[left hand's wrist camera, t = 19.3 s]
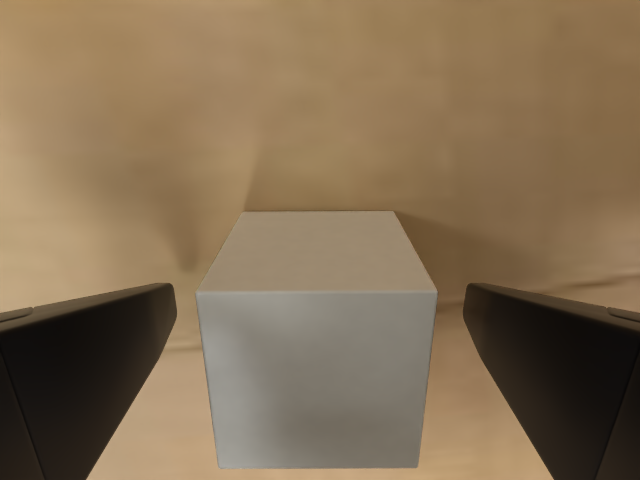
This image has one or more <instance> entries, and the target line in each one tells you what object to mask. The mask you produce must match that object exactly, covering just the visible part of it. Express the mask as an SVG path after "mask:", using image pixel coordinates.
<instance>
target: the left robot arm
mask: <svg viewBox="0 0 640 480" xmlns="http://www.w3.org/2000/svg"><path fill="white" fill-rule="evenodd" d="M176 317H177V308H176V301H175V294H174V288H173V286H172V284H170V283H155V284H150V285H144V286H139V287H134V288H129V289H124V290H119V291H114V292H109V293H104V294H99V295H93V296H88V297H83V298H78V299H73V300H68V301H63V302H58V303H53V304H47V305H42V306H37V307H34V309H33V308H32V307H29V308H24V309H19V310H14V311H8V312H3V313H0V480H86V479H87V477H88V475H89V474H90V472H91V470H92V469H93V467H94V465H95V464H96V462H97V461H98V459H99V457H100V456H101V454H102V452H103V451H104V449H105V447H106V446H107V444H108V442H109V441H110V439H111V437H112V436H113V434H114V432H115V431H116V429H117V427H118V426H119V424H120V422H121V421H122V419H123V417H124V416H125V414H126V412H127V411H128V409H129V407H130V406H131V404H132V403H133V401H134V399H135V398H136V396H137V394H138V393H139V391H140V389H141V388H142V386H143V384H144V383H145V381H146V379H147V378H148V376H149V374H150V373H151V371H152V369H153V368H154V366H155V364H156V363H157V361H158V359H159V357H160V355H161V353H162V351H163V349H164V346H165V344H166V342H167V339H168V337H169V335H170V333H171V330H172V328H173V326H174V323H175V321H176ZM463 317H464V321H465V323H466V326H467V328H468V330H469V333H470V335H471V337H472V340H473V342H474V344H475V347H476V349H477V351H478V353H479V355H480V357H481V359H482V361H483V363H484V364H485V366H486V368H487V369H488V371H489V373H490V374H491V376H492V378H493V379H494V381H495V383H496V384H497V386H498V388H499V389H500V391H501V393H502V394H503V396H504V398H505V399H506V401H507V403H508V404H509V406H510V408H511V409H512V411H513V413H514V414H515V416H516V417H517V419H518V421H519V422H520V424H521V426H522V427H523V429H524V431H525V432H526V434H527V436H528V437H529V439H530V441H531V442H532V444H533V446H534V447H535V449H536V451H537V452H538V454H539V456H540V457H541V459H542V461H543V462H544V464H545V466H546V467H547V469H548V471H549V472H550V474H551V476H552V477H553V479H554V480H640V313H637V312H632V311H626V310H621V309H616V308H611V307H608V308H607V309H606V307H603V306H598V305H593V304H588V303H583V302H577V301H572V300H567V299H562V298H557V297H552V296H547V295H542V294H536V293H531V292H526V291H521V290H516V289H511V288H506V287H501V286H495V285H490V284H485V283H470V284H468V286H467V288H466V294H465V301H464V307H463Z"/></svg>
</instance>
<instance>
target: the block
mask: <svg viewBox="0 0 640 480" xmlns="http://www.w3.org/2000/svg"><path fill="white" fill-rule="evenodd" d="M195 295H196V303H197V310H198V318H199V325H200V333H201V340H202V348H203V355H204V363H205V371H206V378H207V386H208V393H209V401H210V408H211V416H212V423H213V431H214V438H215V446H216V453H217V461H218V467H219V468H220V469H320V468H417V467H418V463H419V454H420V445H421V437H422V428H423V419H424V411H425V402H426V393H427V384H428V376H429V367H430V358H431V350H432V341H433V332H434V324H435V315H436V306H437V298H438V291H437V289H436V287H435V285H434V283H433V282H432V280H431V278H430V276H429V274H428V272H427V271H426V269H425V267H424V265H423V263H422V262H421V260H420V258H419V256H418V254H417V253H416V251H415V249H414V247H413V245H412V244H411V242H410V240H409V238H408V236H407V235H406V233H405V231H404V229H403V227H402V226H401V224H400V222H399V220H398V218H397V217H396V215H395V213H394V211H261V212H242V213H241V215H240V216H239V218H238V220H237V222H236V223H235V225H234V227H233V229H232V230H231V232H230V234H229V235H228V237H227V239H226V241H225V242H224V244H223V246H222V247H221V249H220V251H219V253H218V254H217V256H216V258H215V259H214V261H213V263H212V265H211V266H210V268H209V270H208V271H207V273H206V275H205V277H204V278H203V280H202V282H201V284H200V285H199V287H198V289H197V290H196V293H195Z"/></svg>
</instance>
